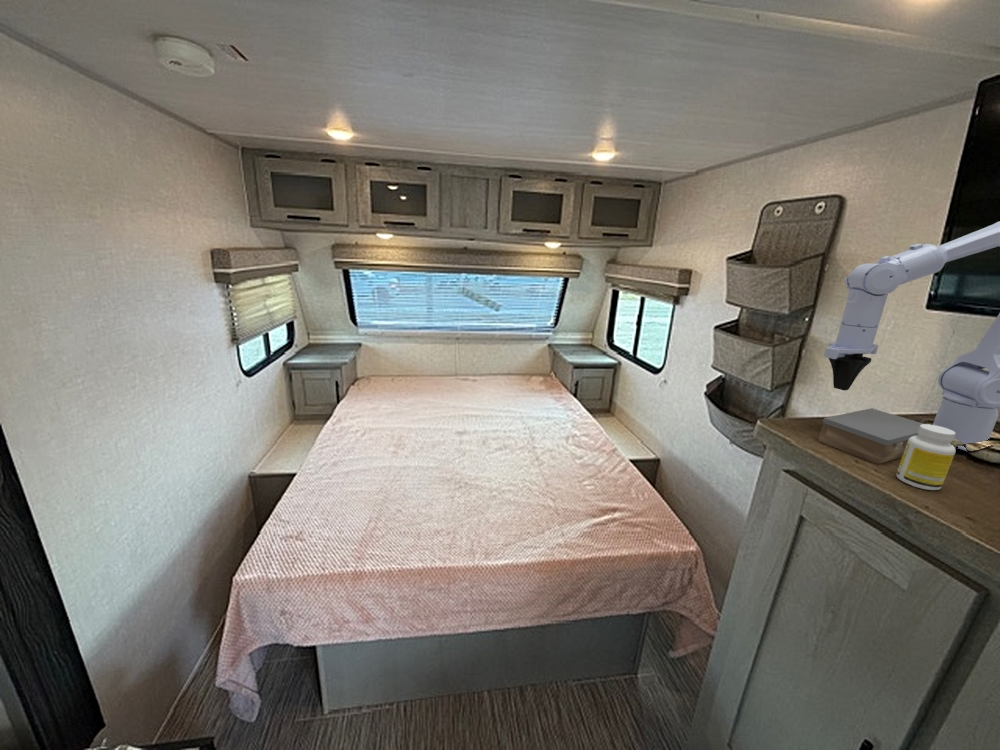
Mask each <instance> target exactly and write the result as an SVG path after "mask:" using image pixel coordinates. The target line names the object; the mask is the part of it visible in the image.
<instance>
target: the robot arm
mask: <svg viewBox="0 0 1000 750" xmlns="http://www.w3.org/2000/svg"><path fill="white" fill-rule="evenodd" d="M997 247H1000V221H997V222H995V223H993V224H991V225H988V226H986V227H984V228H983V227H982V228H981V229H979V230H976V231H973V232H970V233H968V234H966V235H963V236H961V237H957V238H956V239H953V240H951V241H948V242H945V243H943V244H941V245H934V244H932V243H925V244H923V243H914V244H913V245H909V247H908V249H907V250H905V251H902V252H900V253H897V254H893V255H892V256H889V255H885V256H882V257H880V258H879V260H878V261H877V262H876V263H870V262H869V263H863V264H859V265H858V266H856V267H855V268H854V270H852V271H851V272H850V273H849V275H848V276H846V277H845V280H844V281H845V286H846V288H847V290H848V294H847V299H846V303H845V307H844V310H843V313H842V318H841V321H840V326H839V330H838V333H837V337H836V339H835V341H834V342H831V341H830V342H829V343H828V347H825V351H824V353H823V354H824V355H823V357H824V358H828V360H829V362H830V366H831V368H832V381H833V382H832V383H833V389H836V390H841V391H848V390H849V389H850V388H851V386H852V385H853V384H854V382H855V380H856V379H857V377H858V376H859V374H861V372H862V371H863V370H864V369H865V368H866V367H867V366H868V365H869V364H871V362H872V357H868V356H864V355H867V354H869V355H876V354H877V352H878V349H879V344H874V343H875V339H876V335H877V332H878V328H879V325H880V321H881V318H882V315H883V311H884V308H885V305H886V302H887V299H888V295H889V294H891V293H893V292H894V291H895V290H897V288H898V287H899V286H901V285H904V284H907V283H909V282H912V281H915V280H918V279H919V280H920V279H921V278H924V277H928V276H931V275H933V274H936V273H939V272H940V271H941V270H942V269H943V268H944V266H945V264H946V263H948V262H952V261H955V260H958V259H962V258H965V257H968V256H970V255H971V256H972V255H974V254H978V253H982V252H985V251H988V250H991V249H993V248H997ZM984 369H987V370H984ZM937 381H938V382H937V383H938V385H939V387H940V389H942V391H941V395H943V396H942V399H941V401H940V404H939V407H938V409H937V413H936V416H935V418H934V420H933V423H932V425H936V426H940V427H944V428H947V429H950V430H952V431H954V432H955V433H956V434H955V437H954V438H955V439H957V440H959V441H961V442H962V443H963V444H967V443H976V442H983V440H988V439H989V440H990V438H991V435H992V433H993V431H994V428H995V425H996V423H997V420H998V418H999V411H998V409H1000V312H999V314H998V315H997V316H996V317H995V319H994V321H993V322H992V324H990V326H989V328H988V329H987V331H986V332H985V334H984V335H983V337H982V338H981V340H980V341H979V343H978V344H977V346H976V347H975V349H974V350H971V351H969V352H966V353H963V354H961V355H959V356H957V357H956V358H955V360H954V361H953V363H951V364H950V365H949V366H947V367H946V368H944V369H943V370H942V371H941V372H940V374H939V375H938V379H937ZM989 440H988V441H989ZM957 449H960V450H962V451H966V452H968V451H967V450H966V448H965V447H964V446H958V448H957Z"/></svg>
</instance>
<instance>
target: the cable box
mask: <svg viewBox="0 0 1000 750" xmlns="http://www.w3.org/2000/svg"><path fill="white" fill-rule="evenodd" d="M817 440H818V442H820V443H823V444H825V445H828V446H830V447H832V446H833V447H832V448H834V449H837V448H838V450H841V451H843V452H845V453H848V454H851V455H853V456H856V457H857V458H860V459H862V460H863V459H864V460H866V461H869V462H871V463H874V464H876V465H880V464H883V463H887V462H889V461H893V460H897V459H899V458H900V459H901V458H902V456H903V453H904V451H905V448H906V445H907V442H908V440H905V441H901V442H898V443H894V444H890V445H883V444H881V443H878V442H875V441H872V440H870V439H867V438H864V437H861V436H858V435H856V434H853V433H850V432H847V431H845V430H842V429H839V428H836V427H833V426H831V425H828V424H825V423H823V422H822V426H821V429H820V432H819V436H818V439H817Z"/></svg>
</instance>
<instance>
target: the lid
mask: <svg viewBox="0 0 1000 750" xmlns="http://www.w3.org/2000/svg"><path fill="white" fill-rule="evenodd" d="M823 423H825V424H828V425H831V426H833V427H836V428H839V429H842V430H845V431H847V432H850V433H853V434H856V435H858V436H861V437H864V438H867V439H870V440H872V441H875V442H878V443H881V444H883V445H890V444H894V443H898V442H901V441H905V440H909V438H910V437H912V436H918V435H919V434H918V433H917V432H918V429H919V427H920V425H921V424H924V423H922V422H919V421H916V420H912V419H910V418H906V417H902V416H899V415H897V414H893V413H889V412H885V411H883V410H880V409H876V408H866V409H863V410H857V411H853V412H848V413H843V414H842V413H841V414H838V415H831V416H827V417H824V418H823V420H822V424H823Z"/></svg>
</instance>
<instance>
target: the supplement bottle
mask: <svg viewBox="0 0 1000 750" xmlns="http://www.w3.org/2000/svg"><path fill="white" fill-rule="evenodd" d="M917 433H918V434H919V435H918V436H912V437H910V438H909V440H908V442H907V445H906V448H905V451H904V453H903V456H902V457H901V458H900V459H901V460H900V462H899V464H898V465H899V466H898V468H897V470H896V474H895V475H896V477H897V479H898V480H900V481H901V482H903V483H905V484H907V485H910V486H911V487H914V488H919V489H921V490H922V489H923V490H929V491H938V490H940V489H942V487H943V485H944V483H945V480H946V477H947V476H948V473H949V470H950V468H951V465H952V462H953V460H954V458H955V454H956V447H954V446H953V445H951V444H950V442H952V441H953V440H954V437H955V434H956V433H955V432H954V431H952V430H950V429H947V428H944V427H940V426H936V425H933V424H929V423H923V424H921V425H920V427H919V429H918V432H917Z"/></svg>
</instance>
